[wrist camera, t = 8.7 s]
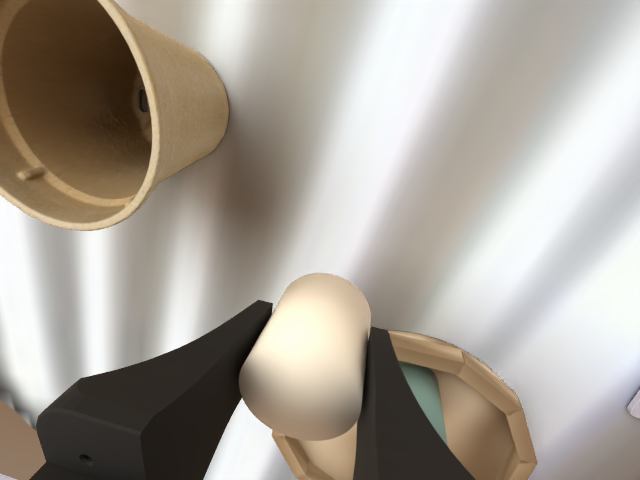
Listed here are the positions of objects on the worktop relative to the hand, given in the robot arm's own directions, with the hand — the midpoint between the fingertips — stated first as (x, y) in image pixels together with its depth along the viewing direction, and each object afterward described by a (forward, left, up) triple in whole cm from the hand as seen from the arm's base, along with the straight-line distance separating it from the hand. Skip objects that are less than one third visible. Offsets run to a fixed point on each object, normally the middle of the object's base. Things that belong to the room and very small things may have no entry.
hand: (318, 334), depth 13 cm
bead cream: (0, 0, -2) cm, 2 cm away
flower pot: (+11, -7, -9) cm, 16 cm away
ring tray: (-6, +14, -8) cm, 17 cm away
